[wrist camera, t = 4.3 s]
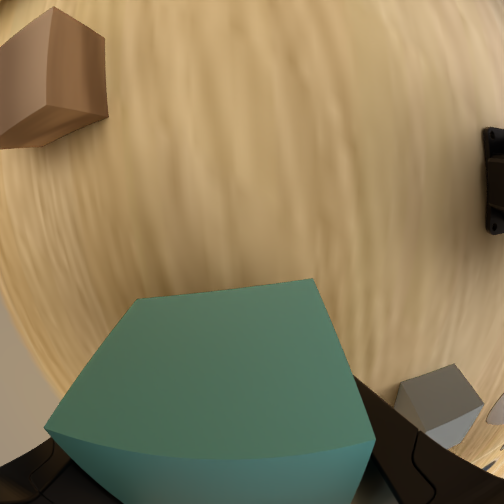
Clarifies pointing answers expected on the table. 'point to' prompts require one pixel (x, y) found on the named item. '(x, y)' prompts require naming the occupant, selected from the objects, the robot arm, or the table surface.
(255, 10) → the table surface
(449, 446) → the slate block
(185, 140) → the table surface
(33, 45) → the walnut block
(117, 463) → the teal block
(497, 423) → the lamp
